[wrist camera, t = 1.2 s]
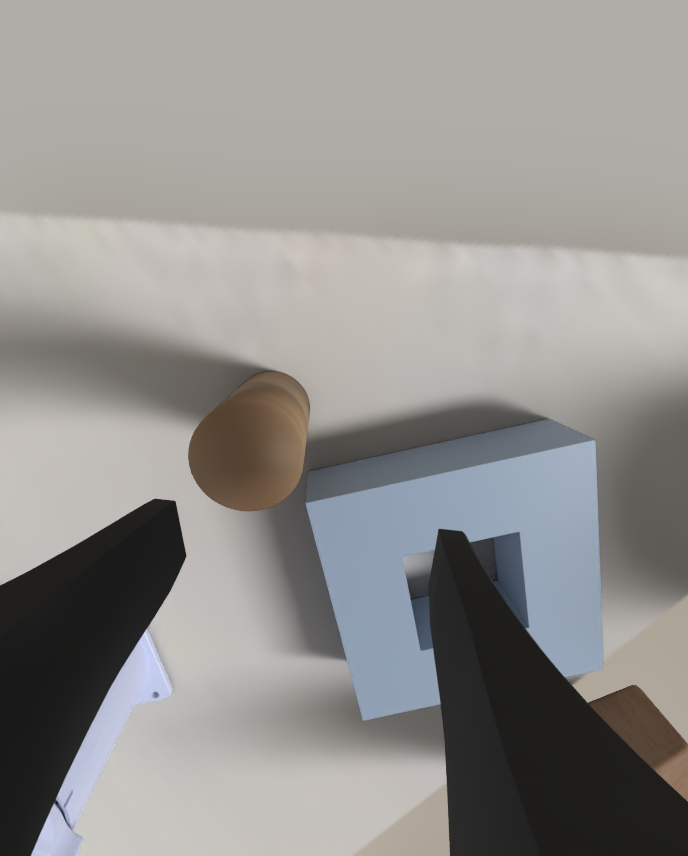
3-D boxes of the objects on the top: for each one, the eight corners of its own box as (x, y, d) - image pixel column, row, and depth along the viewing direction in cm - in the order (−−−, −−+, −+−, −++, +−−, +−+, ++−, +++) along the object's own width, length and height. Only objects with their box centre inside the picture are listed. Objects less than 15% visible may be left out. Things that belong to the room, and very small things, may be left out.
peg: (246, 450, 22) (208, 521, 15) (226, 380, 21) (172, 417, 14) (317, 434, 22) (315, 498, 15) (300, 363, 21) (288, 392, 14)
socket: (356, 662, 27) (362, 721, 23) (308, 471, 23) (305, 503, 19) (563, 618, 27) (603, 669, 23) (549, 418, 23) (595, 439, 19)
